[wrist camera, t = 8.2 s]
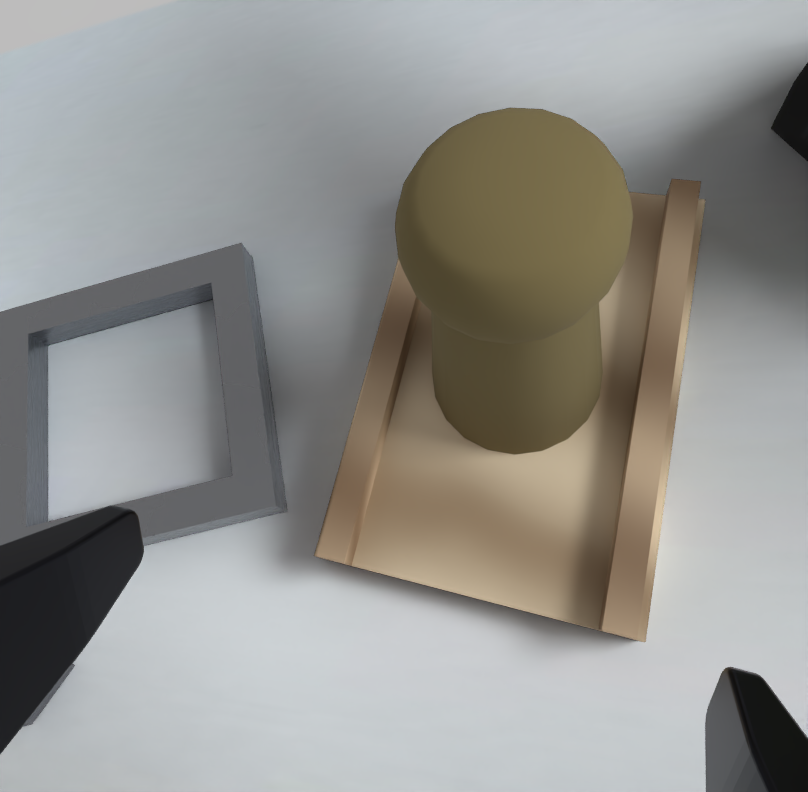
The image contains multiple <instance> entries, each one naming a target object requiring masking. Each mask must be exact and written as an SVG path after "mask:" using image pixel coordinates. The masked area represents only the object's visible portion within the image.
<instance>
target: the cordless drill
mask: <svg viewBox="0 0 808 792" xmlns="http://www.w3.org/2000/svg"><path fill="white" fill-rule="evenodd" d="M771 129H772V130H774V131H775V132H776V133H777V134H778V135H779V136H780V137H781V138H783V139H784V140H785V141H786V142H787V143H788V144H789V145H790V146H792V147H793V148H794V149H795V150H796V151H797V152H798V153H799V154H801V155H802V156H803V157H804V158H805V159H806V160H807V161H808V63H807V64H806V66H805V67H804V69H803V70H802V71H801V73H800V74H799V76H798V77H797V79H796V80H795V81H794V83H793V85H792V87H791V89H790V91H789V93H788V95H787V97H786V99H785V101H784V103H783V105H782V107H781V109H780V111H779V113H778V115H777V117H776V119H775V121H774V123H773V125H772V127H771Z"/></svg>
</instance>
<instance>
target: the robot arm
mask: <svg viewBox="0 0 808 792" xmlns="http://www.w3.org/2000/svg"><path fill="white" fill-rule="evenodd" d="M143 553H144V546H143V540H142V534H141V529H140V523H139V517H138V515H137V513H136V512H135V511H133V510H131V509H127V508H124V507H120V506H114V505H112V506H108V507H105V508H102V509H99V510H97V511H94V512H91V513H88V514H85V515H83V516H80V517H77V518H74V519H72V520H69V521H66V522H63V523H61V524H58V525H55V526H52V527H50V528H47V529H44V530H41V531H39V532H36V533H33V534H30V535H27V536H25V537H22V538H19V539H16V540H14V541H11V542H8V543H5V544H3V545H0V754H1V753H2V752H3V750H4V749H5V748H6V747H7V745H8V744H9V743H10V741H11V740H12V739H13V738H14V736H15V735H16V734H17V733H18V731H19V730H20V729H21V728H22V726H23V725H24V724H25V723H26V721H27V720H28V719H29V718H30V716H31V715H32V714H33V712H34V711H35V710H36V709H37V707H38V706H39V705H40V704H41V702H42V701H43V700H44V699H45V697H46V696H47V695H48V694H49V692H50V691H51V690H52V688H53V687H54V686H55V685H56V683H57V682H58V681H59V680H60V678H61V677H62V676H63V675H64V673H65V672H66V671H67V670H68V668H69V667H70V666H71V665H72V663H73V662H74V661H75V659H76V658H77V657H78V656H79V654H80V653H81V652H82V650H83V649H84V648H85V646H86V645H87V644H88V642H89V641H90V639H91V638H92V637H93V635H94V634H95V632H96V631H97V629H98V628H99V626H100V625H101V623H102V622H103V620H104V619H105V617H106V615H107V614H108V612H109V611H110V609H111V608H112V606H113V605H114V603H115V602H116V600H117V599H118V597H119V595H120V594H121V592H122V591H123V589H124V588H125V586H126V585H127V583H128V582H129V580H130V579H131V577H132V575H133V574H134V572H135V571H136V569H137V568H138V566H139V564H140V563H141V560H142V557H143ZM705 749H706V792H808V737H807V736H806V735H805V733H804V732H803V731H802V729H801V728H800V727H799V725H798V724H797V723H796V721H795V720H794V719H793V717H792V716H791V715H790V713H789V712H788V711H787V709H786V708H785V707H784V705H783V704H782V703H781V701H780V700H779V699H778V697H777V696H776V695H775V693H774V692H773V691H772V689H771V688H770V686H769V685H768V684H767V682H766V681H765V680H764V679H763V678H762V677H761V676H760V675H758V674H756V673H752V672H748V671H745V670H741V669H737V668H733V667H727V668H725V669H724V671H723V672H722V674H721V676H720V678H719V681H718V683H717V686H716V688H715V691H714V693H713V696H712V698H711V701H710V703H709V706H708V709H707V713H706V722H705Z"/></svg>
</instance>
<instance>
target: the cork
mask: <svg viewBox="0 0 808 792" xmlns="http://www.w3.org/2000/svg"><path fill="white" fill-rule="evenodd" d="M632 221H633V211H632V205H631V200H630V196H629V192H628V188H627V184H626V180H625V176H624V172H623V169H622V168H621V167H620V165H619V164H618V162H617V161H616V160H615V158H614V157H613V155H612V154H611V153H610V151H609V150H608V149H607V147H606V146H605V144H604V143H603V142H602V141H601V140H600V139H599V138H598V137H597V136H595V135H594V134H593V133H591V132H590V131H588V130H587V129H585V128H584V127H582V126H581V125H580V124H578V123H577V122H575V121H574V120H572V119H571V118H567V117H564V116H561V115H558V114H555V113H552V112H549V111H546V110H543V109H526V108H506V109H502V110H497V111H492V112H487V113H482V114H478V115H476V116H474V117H472V118H470V119H468V120H466V121H464V122H462V123H460V124H457V125H455V126H453V127H451V128H450V129H449V130H447V131H446V132H445V133H444V134H443V135H442V136H440V137H439V138H438V139H437V140H436V141H435V142H433V143H432V144H431V145H430V146H429V147H428V148H427V149H426V150H425V152H424V153H423V154H422V156H421V157H420V159H419V160H418V162H417V163H416V165H415V166H414V168H413V169H412V171H411V173H410V174H409V176H408V177H407V179H406V180H405V182H404V184H403V188H402V192H401V196H400V200H399V204H398V208H397V212H396V221H395V232H396V241H397V251H398V258H399V261H400V264H401V266H402V269H403V271H404V273H405V275H406V277H407V279H408V281H409V283H410V285H411V287H412V289H413V291H414V293H415V295H416V297H417V298H418V299H419V300H420V301H421V302H422V303H423V304H424V305H425V306H426V307H427V308H428V309H429V310H430V311H431V325H432V375H433V383H434V392H435V398H436V400H437V402H438V404H439V406H440V408H441V410H442V412H443V414H444V416H445V418H446V420H447V421H448V422H449V423H450V424H451V425H452V426H453V427H454V428H455V429H456V430H457V431H458V432H459V433H460V434H461V435H462V436H463V437H464V438H466V439H468V440H469V441H471V442H473V443H475V444H477V445H479V446H481V447H483V448H485V449H487V450H491V451H497V452H503V453H509V454H514V455H516V454H523V453H531V452H538V451H543V450H546V449H548V448H550V447H552V446H554V445H556V444H558V443H560V442H563V441H565V440H567V439H568V438H569V437H570V436H572V435H573V434H574V433H575V432H576V431H577V430H578V429H579V428H580V427H581V426H582V425H583V424H584V423H585V422H586V421H587V420H588V418H589V416H590V414H591V413H592V411H593V409H594V407H595V405H596V403H597V401H598V399H599V397H600V389H601V382H602V375H603V366H602V348H601V330H600V313H599V302H600V301H601V300H602V299H603V298H604V297H605V296H606V295H607V294H608V292H609V290H610V289H611V287H612V285H613V283H614V281H615V279H616V277H617V276H618V274H619V272H620V270H621V268H622V266H623V264H624V262H625V259H626V256H627V253H628V250H629V244H630V236H631V228H632Z"/></svg>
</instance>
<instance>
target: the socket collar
mask: <svg viewBox="0 0 808 792" xmlns="http://www.w3.org/2000/svg"><path fill="white" fill-rule="evenodd" d="M211 299H213V302H214V311H215V320H216V330H217V339H218V348H219V357H220V367H221V376H222V385H223V394H224V404H225V413H226V422H227V431H228V441H229V450H230V459H231V469H232V476H229V477H225V478H221V479H217V480H213V481H209V482H205V483H201V484H197V485H193V486H189V487H185V488H181V489H177V490H173V491H169V492H165V493H161V494H157V495H153V496H149V497H145V498H141V499H137V500H133V501H129V502H125V503H121V504H117V505H114V506H120V507H124V508H127V509H131V510H133V511H135V512H136V513H137V515H138V517H139V523H140V529H141V534H142V540H143V546H145V545H149V544H153V543H157V542H161V541H166V540H170V539H174V538H178V537H182V536H186V535H190V534H194V533H199V532H203V531H207V530H211V529H215V528H219V527H223V526H228V525H232V524H236V523H240V522H244V521H248V520H252V519H256V518H261V517H265V516H269V515H273V514H277V513H281V512H285V511H287V506H286V498H285V491H284V484H283V476H282V469H281V462H280V455H279V447H278V440H277V433H276V425H275V418H274V411H273V403H272V396H271V389H270V381H269V374H268V367H267V360H266V352H265V345H264V338H263V330H262V323H261V316H260V308H259V301H258V294H257V286H256V279H255V272H254V265H253V258H252V256H251V255H250V254H249V252H248V251H247V250H246V248H245V247H244V246H243V244H242V243H239V244H236V245H232V246H229V247H225V248H222V249H218V250H215V251H211V252H208V253H204V254H201V255H197V256H194V257H190V258H187V259H183V260H180V261H176V262H173V263H169V264H166V265H162V266H159V267H155V268H152V269H148V270H145V271H141V272H138V273H134V274H131V275H127V276H124V277H120V278H117V279H113V280H110V281H106V282H103V283H99V284H96V285H92V286H89V287H85V288H82V289H78V290H75V291H71V292H68V293H64V294H61V295H57V296H54V297H50V298H47V299H44V300H40V301H37V302H33V303H30V304H26V305H23V306H19V307H16V308H12V309H9V310H5V311H2V312H0V545H3V544H5V543H8V542H11V541H14V540H16V539H19V538H22V537H25V536H27V535H30V534H33V533H36V532H39V531H41V530H44V529H47V528H50V527H52V526H55V525H58V524H61V523H63V522H66V521H69V520H72V519H74V518H77V517H80V516H83V515H85V514H88V513H91V512H94V511H97V510H99V509H97V510H93V511H89V512H85V513H81V514H77V515H73V516H69V517H65V518H61V519H57V520H53V521H49V522H48V345H50V344H53V343H57V342H60V341H64V340H68V339H71V338H75V337H78V336H82V335H85V334H89V333H93V332H96V331H100V330H103V329H107V328H111V327H114V326H118V325H121V324H125V323H129V322H132V321H136V320H139V319H143V318H146V317H150V316H154V315H157V314H161V313H164V312H168V311H172V310H175V309H179V308H182V307H186V306H190V305H193V304H197V303H200V302H204V301H208V300H211ZM101 509H102V508H101Z"/></svg>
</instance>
